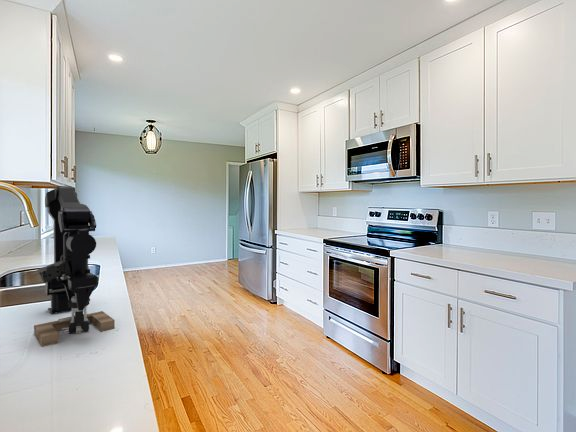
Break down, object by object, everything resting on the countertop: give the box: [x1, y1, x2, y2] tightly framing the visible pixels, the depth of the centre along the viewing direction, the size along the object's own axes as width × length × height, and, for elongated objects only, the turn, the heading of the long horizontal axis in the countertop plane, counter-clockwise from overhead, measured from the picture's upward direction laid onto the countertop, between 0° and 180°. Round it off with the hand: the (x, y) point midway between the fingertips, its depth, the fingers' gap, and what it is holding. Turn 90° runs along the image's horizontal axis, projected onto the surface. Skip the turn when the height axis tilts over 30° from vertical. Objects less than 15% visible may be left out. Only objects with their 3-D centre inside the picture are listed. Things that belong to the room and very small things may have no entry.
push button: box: [61, 296, 91, 335], centre depth 89 cm, size 7×5×10 cm
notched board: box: [33, 310, 116, 347], centre depth 89 cm, size 11×17×3 cm, turn 137°
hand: (76, 306), depth 89 cm, fingers open, 9 cm apart
